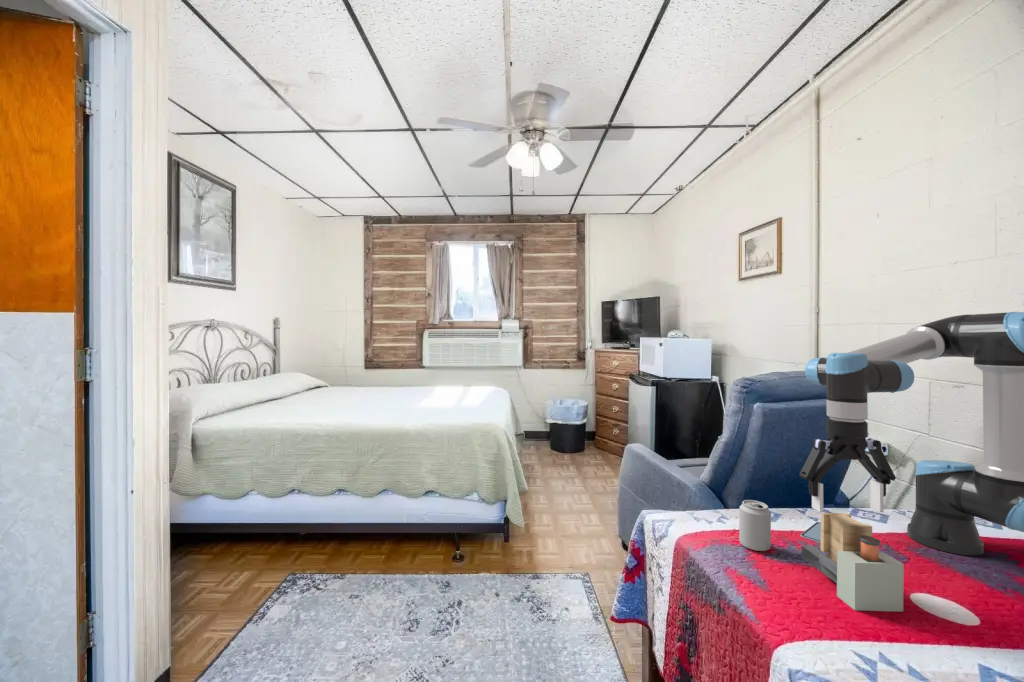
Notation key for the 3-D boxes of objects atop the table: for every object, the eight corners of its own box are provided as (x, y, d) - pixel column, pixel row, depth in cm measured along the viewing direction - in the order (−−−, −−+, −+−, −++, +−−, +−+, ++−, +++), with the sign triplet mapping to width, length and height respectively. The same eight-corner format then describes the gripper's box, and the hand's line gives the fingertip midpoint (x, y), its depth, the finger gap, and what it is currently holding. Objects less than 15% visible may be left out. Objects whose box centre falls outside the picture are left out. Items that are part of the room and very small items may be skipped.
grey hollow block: (882, 597, 93) (882, 552, 93) (903, 611, 88) (903, 564, 88) (836, 595, 93) (837, 551, 93) (854, 610, 88) (855, 563, 88)
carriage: (848, 573, 100) (849, 513, 100) (873, 590, 93) (873, 526, 93) (819, 572, 100) (819, 512, 100) (841, 589, 93) (841, 525, 94)
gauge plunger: (870, 553, 92) (871, 535, 92) (884, 561, 88) (884, 543, 88) (855, 553, 92) (855, 535, 92) (868, 561, 89) (868, 542, 89)
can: (775, 555, 111) (775, 510, 111) (744, 551, 112) (744, 507, 112) (764, 541, 118) (764, 499, 118) (735, 539, 119) (735, 497, 119)
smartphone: (799, 535, 122) (816, 521, 131) (799, 537, 122) (816, 524, 131) (829, 544, 116) (846, 529, 125) (829, 547, 116) (846, 532, 125)
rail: (813, 557, 110) (813, 545, 110) (866, 596, 93) (866, 583, 93) (801, 556, 110) (801, 545, 110) (852, 596, 93) (852, 582, 93)
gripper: (887, 415, 100) (887, 503, 100) (782, 416, 101) (782, 503, 101) (916, 421, 93) (917, 516, 93) (803, 422, 93) (803, 516, 94)
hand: (847, 510), depth 97 cm, fingers open, 13 cm apart
